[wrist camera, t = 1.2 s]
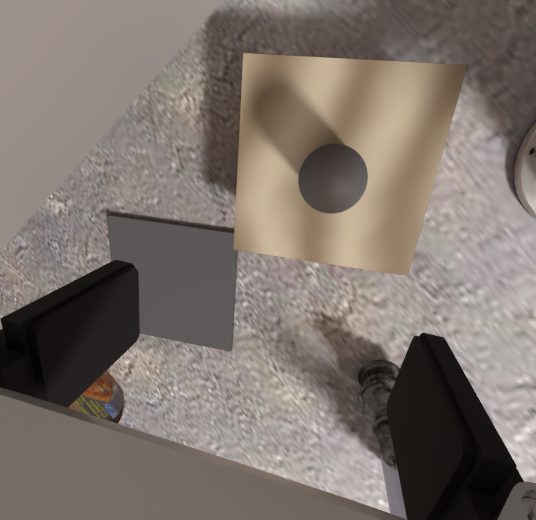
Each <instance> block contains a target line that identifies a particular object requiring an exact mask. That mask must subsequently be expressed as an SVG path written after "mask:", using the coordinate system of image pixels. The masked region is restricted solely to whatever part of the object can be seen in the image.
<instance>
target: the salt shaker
mask: <svg viewBox="0 0 536 520" xmlns="http://www.w3.org/2000/svg"><path fill="white" fill-rule="evenodd" d="M399 371H400V369H399V368H398V367H397V366H396V365H395V364H393V363H391V362H388V361H383V360H377V361H372V362H369V363H367V364H365V365H364V366H363V367H362V368H361V369H360V371H359V374H358V380H359V383H360V385H361V390H360V392H359V396H358V401H359V404H360V406H361V408H362V410H363V411H364V412H366V413H367V414H368V415H370V416H372V417H373V418H375V423H374V425H373V430H374V433H375V435H376V436H377V437H378V438H379V443H380V449H381V454H382V458H383V460H384V462H385V463H386V464H387V465H388V466H389V467H390V468H392V469H395V470H397V472H398V469H397V464H396V459H395V453H394V448H393V443H392V437H391V432H390V427H389V422H388V416H387V401H388V398H389V396H390V393H391V391H392V388H393V386H394V383H395V381H396V378H397V376H398V373H399Z"/></svg>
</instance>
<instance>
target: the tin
mask: <svg viewBox="0 0 536 520" xmlns="http://www.w3.org/2000/svg"><path fill="white" fill-rule="evenodd" d="M68 408H69V409H73V410H76V411H79V412H82V413H85V414H88V415H92V416H95V417H98V418H101V419H104V420H107V421H110V422H114V423H117V424H118V423H119V421H120V419H121V417H122V414H123V410H124V396H123V392H122V390H121V387H120V386H119V385H118V383H117V382H116V381H115V380H114V379H113V377H112V376H111V375H110V374H109V373H108V371H107V370H106V371H105V372H104V373H103V374H102V375H101V376H100V377H99V378H98V379H97V380H96V381H95V382H94V383H93V384H92V385H91V386H90V387H89V388H88V389H87V390H86V391H85V392H84V393H83V394H82V395H81V396H80V397H79V398H78V399H77V400H76V401H75V402H73V403H72V404H71V405H70V406H69V407H68Z"/></svg>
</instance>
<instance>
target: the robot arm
mask: <svg viewBox="0 0 536 520" xmlns="http://www.w3.org/2000/svg"><path fill="white" fill-rule="evenodd" d="M531 149H532V152H531V153H530V154H529V151H530V150H531ZM514 183H515V188H516V192H517V195H518V197H519V199H520V201H521V203H522V205H523V206H524V208H525V209H526V210H527V211H528V212H529V213H530V215H532V216H533V217H535V218H536V122H535V123H534V124H533V125H532V127H531V129H530V130H529V132H528V133H527V135H526V136H525V138H524V140H523V142H522V145H521V147H520V149H519V152H518V154H517V158H516V163H515V168H514ZM1 322H2V327H3V329H2V330H0V520H536V483H531V482H524V481H523V479H522V477H521V476H520V474H519V472H518V470H517V468H516V467H517V466H516V464H515V462H514V460H513V459H512V457H511V455H510V453H509V452H508V450H507V448H506V446H505V445H504V443H503V441H502V439H501V437H500V436H499V434H498V432H497V430H496V429H495V427H494V425H493V423H492V421H491V420H490V418H489V416H488V414H487V413H486V411H485V409H484V407H483V406H482V404H481V402H480V400H479V398H478V397H477V395H476V393H475V391H474V390H473V388H472V386H471V384H470V382H469V381H468V379H467V377H466V375H465V374H464V372H463V370H462V368H461V367H460V365H459V363H458V361H457V359H456V358H455V356H454V354H453V352H452V351H451V349H450V347H449V345H448V343H447V342H446V340H445V339H444V338H443V337H439V336H435V335H431V334H427V333H422V334H421V335H420V336H414V337H413V339H412V341H411V344H410V346H409V349H408V351H407V354H406V356H405V359H404V361H403V364H402V366H401V368H400V371H399V373H398V376H397V378H396V381H395V383H394V386H393V388H392V391H391V393H390V396H389V398H388V401H387V416H388V422H389V427H390V432H391V437H392V443H393V448H394V453H395V459H396V464H397V469H398V474H399V480H400V485H401V490H402V496H403V501H404V506H405V511H406V517H407V519H404V518H402V517H399V516H396V515H393V514H390V513H387V512H384V511H381V510H379V509H376V508H373V507H370V506H367V505H364V504H361V503H359V502H356V501H353V500H350V499H347V498H344V497H341V496H338V495H335V494H332V493H329V492H326V491H323V490H320V489H316V488H313V487H310V486H307V485H304V484H301V483H298V482H295V481H292V480H289V479H286V478H283V477H280V476H277V475H274V474H271V473H268V472H265V471H262V470H259V469H256V468H253V467H250V466H247V465H244V464H241V463H238V462H235V461H231V460H228V459H225V458H222V457H219V456H216V455H213V454H210V453H207V452H204V451H201V450H198V449H194V448H191V447H188V446H185V445H182V444H179V443H176V442H173V441H170V440H167V439H163V438H160V437H157V436H154V435H151V434H148V433H145V432H142V431H139V430H136V429H132V428H129V427H126V426H123V425H120V424H117V423H114V422H110V421H107V420H104V419H101V418H98V417H95V416H92V415H88V414H85V413H82V412H79V411H76V410H73V409H69V408H68V407H69V406H70V405H71V404H72V403H73V402H75V401H76V400H77V399H78V398H79V397H80V396H81V395H82V394H83V393H84V392H85V391H86V390H87V389H88V388H89V387H90V386H91V385H92V384H93V383H94V382H95V381H96V380H97V379H98V378H99V377H100V376H101V375H102V374H103V373H104V372H105V371H106V370H107V369H108V368H109V367H110V366H111V365H113V364H114V363H115V362H116V361H117V360H118V359H119V358H120V357H121V356H122V355H123V354H124V353H125V352H126V351H127V350H128V349H129V348H130V347H131V346H132V345H133V344H134V343H135V342H136V341H137V339H138V337H139V334H140V319H139V273H138V270H137V269H136V268H135V266H134V264H132V263H128V262H124V261H120V260H114V261H112V262H110V263H108V264H106V265H104V266H102V267H100V268H98V269H96V270H94V271H92V272H91V273H89V274H87V275H85V276H83V277H81V278H79V279H77V280H75V281H73V282H71V283H69V284H67V285H65V286H63V287H61V288H59V289H57V290H55V291H53V292H51V293H50V294H48V295H46V296H44V297H42V298H40V299H38V300H36V301H34V302H32V303H30V304H28V305H26V306H24V307H22V308H20V309H18V310H16V311H14V312H12V313H11V314H9V315H7V316H5V317H3V318H1Z"/></svg>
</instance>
